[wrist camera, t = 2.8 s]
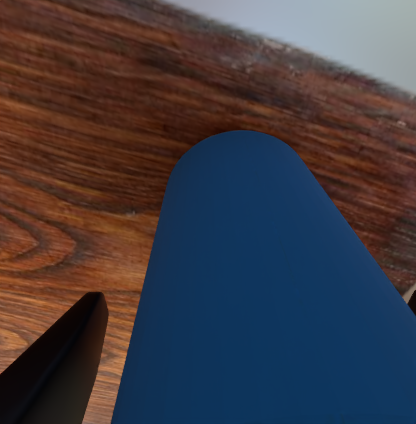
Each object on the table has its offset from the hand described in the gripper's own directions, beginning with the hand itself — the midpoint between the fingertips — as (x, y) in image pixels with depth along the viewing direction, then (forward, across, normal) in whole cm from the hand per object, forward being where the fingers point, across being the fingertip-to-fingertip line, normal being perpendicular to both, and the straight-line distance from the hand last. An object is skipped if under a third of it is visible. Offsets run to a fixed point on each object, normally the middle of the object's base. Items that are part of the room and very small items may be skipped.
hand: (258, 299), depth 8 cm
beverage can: (+6, 0, 0) cm, 7 cm away
